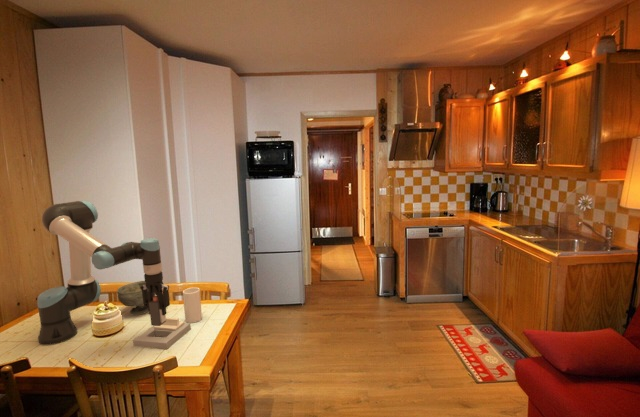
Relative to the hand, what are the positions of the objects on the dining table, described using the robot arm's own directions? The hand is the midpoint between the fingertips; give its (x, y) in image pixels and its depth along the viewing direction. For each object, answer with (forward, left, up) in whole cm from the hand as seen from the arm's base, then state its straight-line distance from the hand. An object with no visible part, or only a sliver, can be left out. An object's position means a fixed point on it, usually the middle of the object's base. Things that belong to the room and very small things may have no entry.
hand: (158, 321), depth 164 cm
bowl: (-33, +27, -10) cm, 44 cm away
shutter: (0, +8, -6) cm, 10 cm away
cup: (+4, +22, -10) cm, 24 cm away
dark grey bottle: (0, 0, -1) cm, 1 cm away
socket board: (0, +3, -9) cm, 10 cm away
